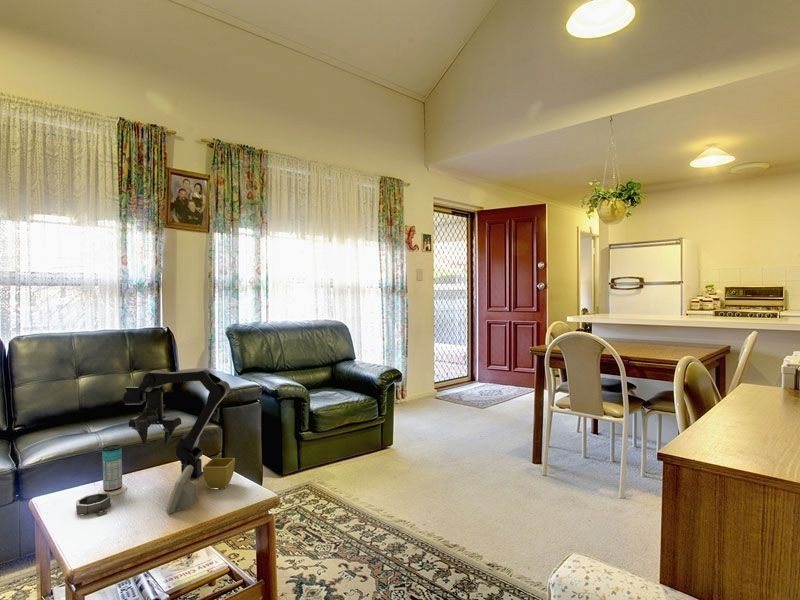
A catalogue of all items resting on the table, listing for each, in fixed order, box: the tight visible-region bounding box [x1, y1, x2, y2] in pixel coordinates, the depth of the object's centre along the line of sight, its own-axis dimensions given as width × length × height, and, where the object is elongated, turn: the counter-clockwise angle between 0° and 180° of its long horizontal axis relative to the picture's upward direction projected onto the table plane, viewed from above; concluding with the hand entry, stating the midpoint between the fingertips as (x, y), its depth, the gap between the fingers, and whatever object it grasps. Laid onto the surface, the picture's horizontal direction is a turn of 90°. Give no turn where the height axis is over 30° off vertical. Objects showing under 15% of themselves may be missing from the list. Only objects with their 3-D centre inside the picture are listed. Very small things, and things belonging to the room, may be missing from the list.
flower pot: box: [202, 457, 236, 489], centre depth 172 cm, size 9×9×9 cm
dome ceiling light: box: [97, 483, 128, 497], centre depth 170 cm, size 9×9×1 cm
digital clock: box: [165, 465, 198, 515], centre depth 158 cm, size 16×9×11 cm, turn 0°
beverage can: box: [101, 444, 123, 492], centre depth 170 cm, size 6×6×15 cm
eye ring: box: [75, 492, 112, 517], centre depth 156 cm, size 15×10×3 cm
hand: (155, 444), depth 181 cm, fingers open, 9 cm apart
